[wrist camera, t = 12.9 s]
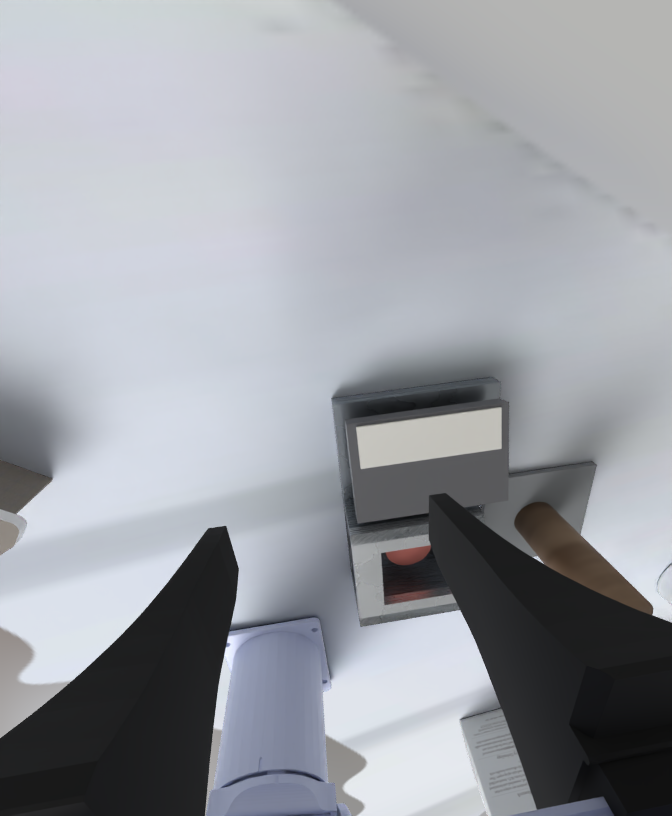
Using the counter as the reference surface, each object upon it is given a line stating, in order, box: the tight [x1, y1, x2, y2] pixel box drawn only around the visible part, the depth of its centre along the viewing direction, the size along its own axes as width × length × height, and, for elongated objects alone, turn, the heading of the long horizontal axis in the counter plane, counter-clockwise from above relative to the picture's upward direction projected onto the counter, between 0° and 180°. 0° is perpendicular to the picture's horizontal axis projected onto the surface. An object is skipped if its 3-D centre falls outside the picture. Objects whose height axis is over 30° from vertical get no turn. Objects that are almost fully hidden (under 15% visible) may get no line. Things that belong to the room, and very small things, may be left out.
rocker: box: [344, 398, 509, 524], centre depth 20 cm, size 6×9×1 cm, turn 96°
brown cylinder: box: [514, 502, 653, 615], centre depth 23 cm, size 3×3×8 cm
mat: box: [481, 462, 597, 557], centre depth 26 cm, size 8×8×1 cm
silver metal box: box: [331, 377, 501, 627], centre depth 23 cm, size 15×10×4 cm, turn 6°
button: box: [386, 545, 431, 565], centre depth 25 cm, size 3×3×2 cm
